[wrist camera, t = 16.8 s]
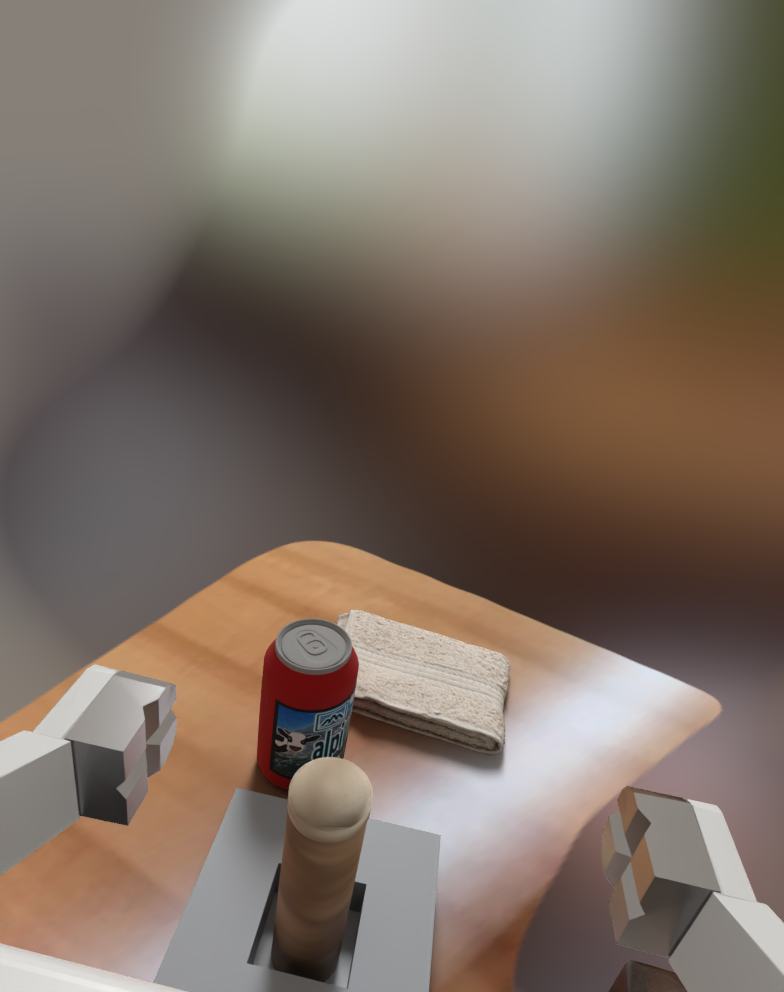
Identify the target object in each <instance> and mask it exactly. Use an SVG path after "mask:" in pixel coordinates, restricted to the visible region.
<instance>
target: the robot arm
mask: <svg viewBox="0 0 784 992" xmlns="http://www.w3.org/2000/svg"><path fill="white" fill-rule="evenodd" d="M175 701H176V685H174V684H172V683H168V682H164V681H160V680H156V679H152V678H148V677H144V676H140V675H137V674H133V673H129V672H125V671H119V670H115V669H111V668H107V667H103V666H99V665H93V666H91V667H90V668H88V669H86V670H85V671H84V672H83V674H82V675H81V676H80V677H79V678H78V679H77V680H76V682H75V683H74V684H73V685H72V686H71V687H70V689H69V690H68V691H67V692H66V693H65V694H64V696H63V697H62V698H61V699H60V700H59V701H58V702H57V704H56V705H55V706H54V707H53V708H52V709H51V711H50V712H49V713H48V714H47V715H46V716H45V717H44V719H43V720H42V721H41V722H40V723H39V724H38V726H37V727H36V728H35V729H34V730H33V731H32V732H30V731H25V730H23V731H21V732H19V733H17V734H15V735H13V736H11V737H9V738H6V739H4V740H2V741H0V876H1V875H2V874H4V873H5V872H6V871H8V870H9V869H11V868H12V867H13V866H15V865H16V864H18V863H19V862H20V861H22V860H23V859H24V858H26V857H27V856H29V855H30V854H31V853H33V852H34V851H36V850H37V849H38V848H40V847H41V846H43V845H44V844H45V843H47V842H48V841H49V840H51V839H52V838H54V837H55V836H56V835H58V834H59V833H61V832H62V831H63V830H65V829H66V828H67V827H69V826H70V825H72V824H73V823H74V822H76V821H77V820H79V818H80V817H79V816H84V817H89V818H93V819H98V820H103V821H108V822H112V823H117V824H122V825H127V826H128V825H129V823H130V821H131V820H132V818H133V816H134V815H135V813H136V811H137V809H138V808H139V806H140V804H141V803H142V801H143V799H144V797H145V796H146V794H147V792H148V781H147V778H148V777H150V776H151V775H153V774H155V773H156V772H158V771H160V770H161V768H162V766H163V764H164V763H165V761H166V759H167V757H168V755H169V752H170V749H171V747H172V744H173V741H174V738H175V732H176V720H177V717H176V716H175V714H174V713H173V712H172V710H171V707H172V705H173V704H174V702H175ZM617 801H618V806H619V810H620V811H619V812H617V813H615V814H613V815H611V816H609V818H608V821H607V823H606V825H605V828H604V830H603V837H602V844H601V854H602V855H601V856H602V865H603V871H604V875H605V877H606V878H607V879H608V880H609V882H610V883H611V884H612V886H613V887H614V888H615V890H614V892H613V894H612V896H611V898H610V900H609V906H610V912H611V918H612V923H613V929H614V934H615V940H616V944H619V945H623V946H626V947H630V948H634V949H638V950H641V951H645V952H648V953H652V954H656V955H659V956H663V957H667V958H670V959H669V960H668V961H669V963H670V964H671V966H672V968H673V969H674V971H675V973H676V974H677V976H678V977H679V979H680V981H681V982H682V984H683V985H684V987H685V989H686V990H687V992H784V923H783V922H782V921H781V920H780V919H779V917H777V915H776V914H775V913H774V912H773V911H772V910H771V909H770V908H769V907H768V906H767V905H766V904H762V903H759V902H757V900H756V898H755V895H754V893H753V890H752V887H751V885H750V882H749V880H748V877H747V875H746V872H745V870H744V867H743V865H742V862H741V860H740V857H739V854H738V852H737V849H736V847H735V844H734V842H733V839H732V837H731V834H730V831H729V829H728V826H727V824H726V821H725V819H724V816H723V814H722V812H721V810H720V809H719V808H718V807H717V806H716V805H712V804H707V803H702V802H698V801H694V800H689V799H684V798H681V797H677V796H672V795H667V794H662V793H658V792H653V791H649V790H644V789H639V788H635V787H630V786H627V787H625V788H624V789H623V790H622V791H621V793H620V795H619V797H618V799H617ZM0 992H188V991H184V990H180V989H176V988H172V987H168V986H165V985H161V984H157V983H153V982H149V981H145V980H141V979H137V978H133V977H129V976H126V975H122V974H118V973H114V972H110V971H106V970H102V969H98V968H94V967H90V966H87V965H83V964H79V963H75V962H71V961H67V960H63V959H59V958H55V957H51V956H48V955H44V954H40V953H36V952H32V951H28V950H24V949H20V948H16V947H12V946H8V945H5V944H1V943H0Z"/></svg>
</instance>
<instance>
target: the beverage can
mask: <svg viewBox="0 0 784 992" xmlns="http://www.w3.org/2000/svg"><path fill="white" fill-rule="evenodd" d="M358 670H359V661H358V657H357V654H356V652H355V650H354V648H353V646H352V641H351V638H350V637H349V635H348V634H347V632H346V631H345V630H344V629H343V628H341V627H340V626H338V625H337V624H335V623H332V622H330V621H327V620H322V619H314V618H309V619H301V620H297V621H294V622H292V623H290V624H288V625H286V626H285V627H284V628H282V629H281V630H280V632H279V633H278V635H277V638H276V639H275V640H274V641H273V642H272V644H271V645H270V646H269V648H268V649H267V651H266V654H265V657H264V666H263V677H262V689H261V702H260V715H259V730H258V747H257V760H258V765H259V767H260V770H261V771H262V773H263V775H264V776H265V777H266V778H267V779H268V780H269V781H270V782H271V783H273V784H274V785H276V786H278V787H280V788H283V789H286V790H289V786H290V783H291V780H292V778H293V776H294V775H295V773H296V772H297V771H298V770H299V769H300V768H301V767H302V766H303V765H305V764H306V763H308V762H310V761H312V760H315V759H318V758H323V757H336V758H341V759H343V758H344V752H345V747H346V742H347V736H348V731H349V725H350V719H351V713H352V707H353V701H354V695H355V689H356V682H357V676H358Z"/></svg>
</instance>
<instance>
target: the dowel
mask: <svg viewBox="0 0 784 992" xmlns="http://www.w3.org/2000/svg"><path fill="white" fill-rule="evenodd" d="M372 801H373V791H372V786H371V783H370V781H369V779H368V777H367V776H366V774H365V773H364V772H363V771H362V770H361V769H360V768H359V767H358V766H357V765H355V764H354V763H352V762H350V761H347V760H345V759H341V758H336V757H323V758H318V759H315V760H312V761H310V762H308V763H306V764H305V765H303V766H302V767H301V768H300V769H299V770H298V771H297V772H296V773H295V775H294V776H293V778H292V780H291V783H290V786H289V793H288V802H287V809H288V811H287V819H286V828H285V837H284V846H283V854H282V863H281V872H280V881H279V889H278V898H277V907H276V916H275V925H274V933H273V942H272V951H271V954H272V963H273V966H274V969H275V970H276V971H280V972H284V973H288V974H292V975H296V976H300V977H304V978H308V979H312V980H316V981H319V982H323V983H324V982H325V981H326V980H327V979H328V978H329V977H330V976H331V975H332V973H333V972H334V970H335V968H336V966H337V963H338V960H339V955H340V951H341V946H342V941H343V936H344V931H345V926H346V922H347V917H348V912H349V907H350V902H351V897H352V893H353V888H354V883H355V878H356V873H357V869H358V864H359V859H360V854H361V849H362V844H363V840H364V835H365V830H366V825H367V821H368V818H369V815H370V811H371V806H372Z"/></svg>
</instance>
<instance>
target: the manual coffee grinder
mask: <svg viewBox="0 0 784 992" xmlns="http://www.w3.org/2000/svg"><path fill="white" fill-rule="evenodd" d="M609 992H687V990H686V989H685V987H684V985H683V984H682V982H681V981H680V979H679V977H678V976H677V974H676V973H674V972H671V971H667V970H664V969H661V968H657V967H654V966H651V965H647V964H644V963H640V962H636V961H633V960H631V961H630V962H628V963H627V964H625V966H624V967H623V969H622V970H621V972H620V973H619V975H618V977H617V978H616V980H615V982H614V984H613V985H612V987H611V988H610V990H609Z"/></svg>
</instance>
